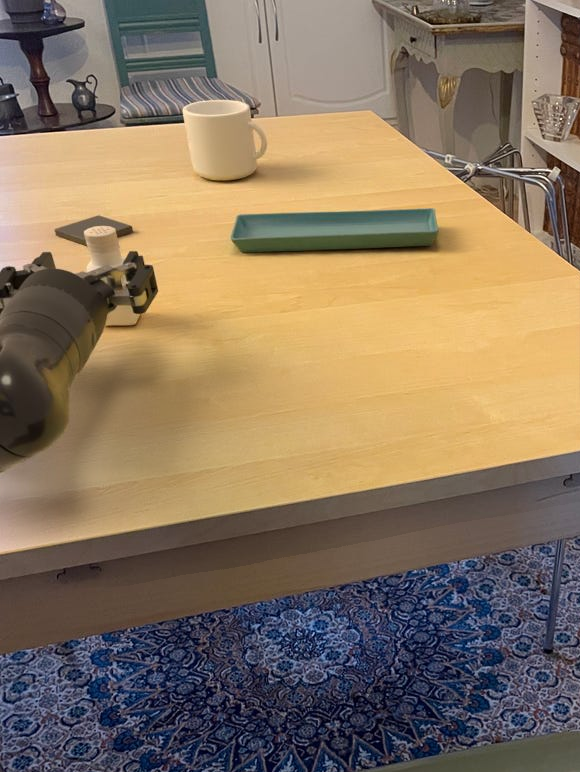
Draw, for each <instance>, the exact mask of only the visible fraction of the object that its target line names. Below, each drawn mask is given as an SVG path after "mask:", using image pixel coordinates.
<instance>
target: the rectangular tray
mask: <svg viewBox="0 0 580 772" xmlns="http://www.w3.org/2000/svg"><path fill="white" fill-rule="evenodd" d="M438 233H439V225H438V221H437V216H436V208H433V207H432V208H431V207H428V208H427V207H425V208H407V209H406V208H404V209H403V208H401V209H376V210H373V209H371V210H346V211H345V210H344V211H303V212H301V211H299V212H273V213H272V212H270V213H269V212H268V213H243V214H241V213H240V214H237V215H236V216H235V220H234V225H233V228H232V231H231V235H230V240H231V242H232V243H233V244H234V246H235V247H236V248H237V249H238V250H239V252H240V253H269V252H300V251H302V252H303V251H324V250H325V251H329V250H352V249H353V250H354V249H355V250H359V249H377V248H379V249H380V248H403V247H404V248H405V247H424V246H425V247H428V246H432V245H433V243H434V242H435V239H437V235H438Z"/></svg>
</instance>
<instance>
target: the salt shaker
mask: <svg viewBox="0 0 580 772" xmlns="http://www.w3.org/2000/svg"><path fill="white" fill-rule="evenodd" d="M84 236H85V240H86V243H87V246H86V247H87V252H88V253H89V256H90V259H91V260H90V261H89V262H88V264H87V266H86V267H85V268H86V269H85V272H89V271H92V270H95V269H97V268H100V267H103V266H105V265H108V266H112V267H117V266H120V265H123V262H124V260H125V259H126V257H125V256H122V254H121V246H120V242H119V239H118V238H119V237H117V234H116V230H115V228H113V227H110V226H96V227H92V228H88V229H87V230H85V231H84ZM101 280H103V281H104V282H105V283H107V280H106V277H105V278H102V279H101ZM126 282H127V281H126V277H125V275H123V276H121V283H122V286H125V285H126ZM140 316H141V314H135V313H133V309H132V307H131V306H128V305H117V307H116V309H115V310H113V311H111V312H110V313H108V314H107V319H106V324H105V327H106V326H107V327H108V326H110V327H111V326H133V325H136V324H137V322H138V320H139V318H140Z"/></svg>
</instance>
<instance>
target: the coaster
mask: <svg viewBox="0 0 580 772" xmlns="http://www.w3.org/2000/svg"><path fill="white" fill-rule="evenodd" d="M96 226H110V227H113V228H115V230H116V234H117V238H119V237H122V236H125V235H128V234H132V233H133V232H134V229H133V228H134V227H133V226H132V225H130V224H128V223H124V222H121V221H118V220H114V219H111V218H108V217H105V216H102V215H99V214H98V215H94V216H92V217H91V216H90V217H88V218H85V219H82V220H79V221H76V222H73V223H69V224H66V225H64V226H63V225H62V226H60V227H57V228H54V233H55V236H58V237H59V238H63V239H66V240H69V241H72V242H75V243H78V244H81V245H84V246H85V247H87V243H86V240H85V236H84V231H85V230H87V229H88V228H92V227H96Z"/></svg>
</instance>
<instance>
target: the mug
mask: <svg viewBox="0 0 580 772" xmlns="http://www.w3.org/2000/svg"><path fill="white" fill-rule="evenodd" d="M182 116H183V122H184V127H185V133H186V138H187V145H188V149H189V157H190V161H191V166H192V170H193V171H194V172H195V174H196V175H198V176H199V177H200V178H201V177H202V178H204V179H206V180H211V181H219V182H220V181H235V180H240V179H244V178H246V177H248V176H251V175H253V173H254V172H256V170H257V168H258V159H260V158H262V157H263V156H264V155H265V153H266V151H267V148H268V140H267V136H266V134H265V132H264V131H263V129H262V128H261V126H259V124H257V123H255V122H254V121H252V120H253V119H252V112H251V107H250V105H249V104H248V103H246V102H244V101H239V100H232V99H207V100H200V101H195V102H191V103H189V104H186V105H185V106H183V108H182ZM254 131H255V132H256V133H257V135H258V136H259V138H260V142H261V144H260V149H259V150H258V151H256V142H255V136H254Z"/></svg>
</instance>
